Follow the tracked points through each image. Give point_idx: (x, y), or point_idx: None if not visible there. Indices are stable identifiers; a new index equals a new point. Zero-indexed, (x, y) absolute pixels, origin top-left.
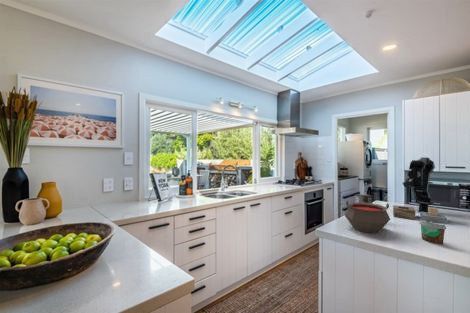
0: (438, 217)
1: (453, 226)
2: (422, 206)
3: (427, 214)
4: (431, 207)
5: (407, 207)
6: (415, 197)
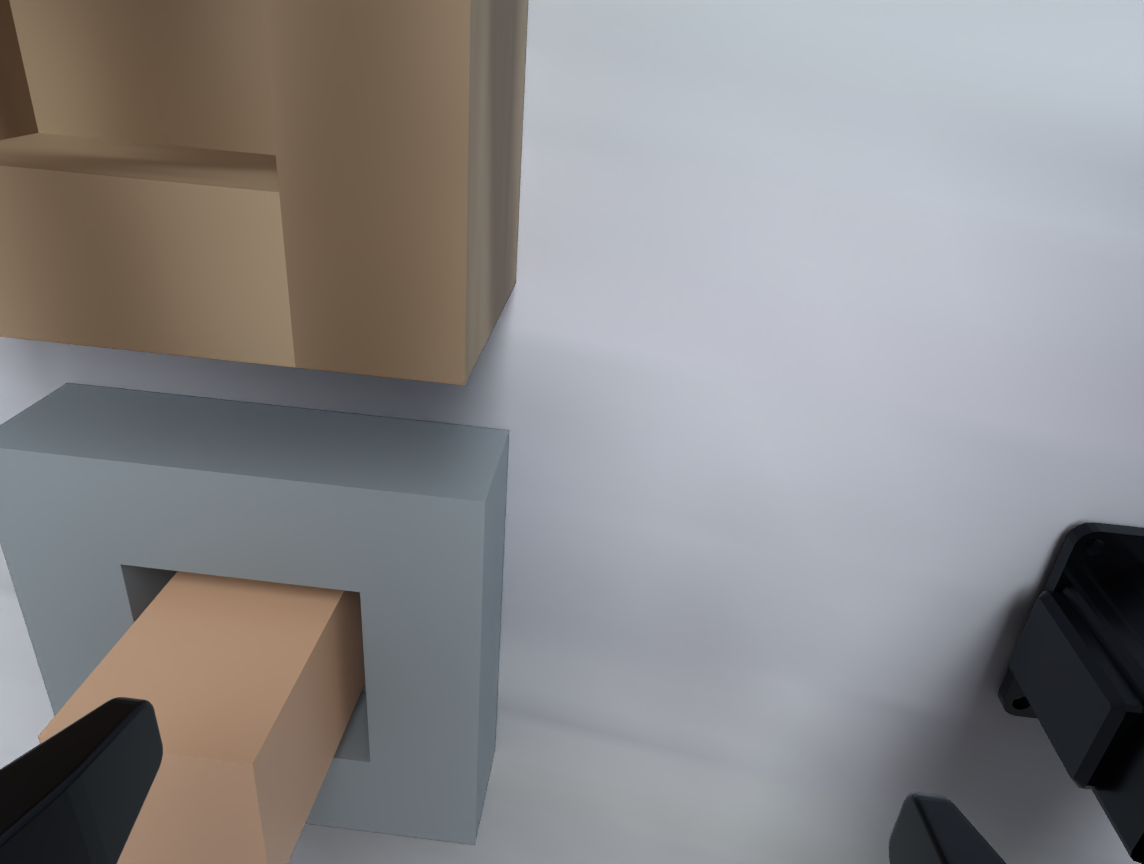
0: (52, 690)
1: (23, 731)
2: (1113, 711)
3: (195, 571)
4: (250, 816)
5: (279, 151)
6: (907, 823)
